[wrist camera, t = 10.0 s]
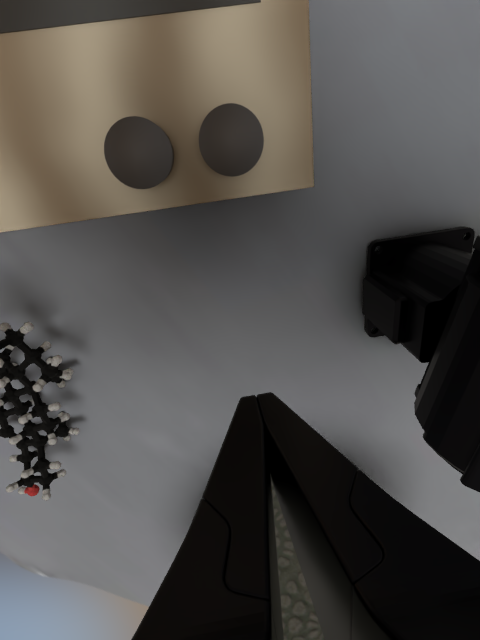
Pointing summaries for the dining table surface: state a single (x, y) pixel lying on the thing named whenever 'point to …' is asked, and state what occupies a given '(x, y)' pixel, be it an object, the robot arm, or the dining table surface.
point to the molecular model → (50, 372)
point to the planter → (293, 586)
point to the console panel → (150, 105)
